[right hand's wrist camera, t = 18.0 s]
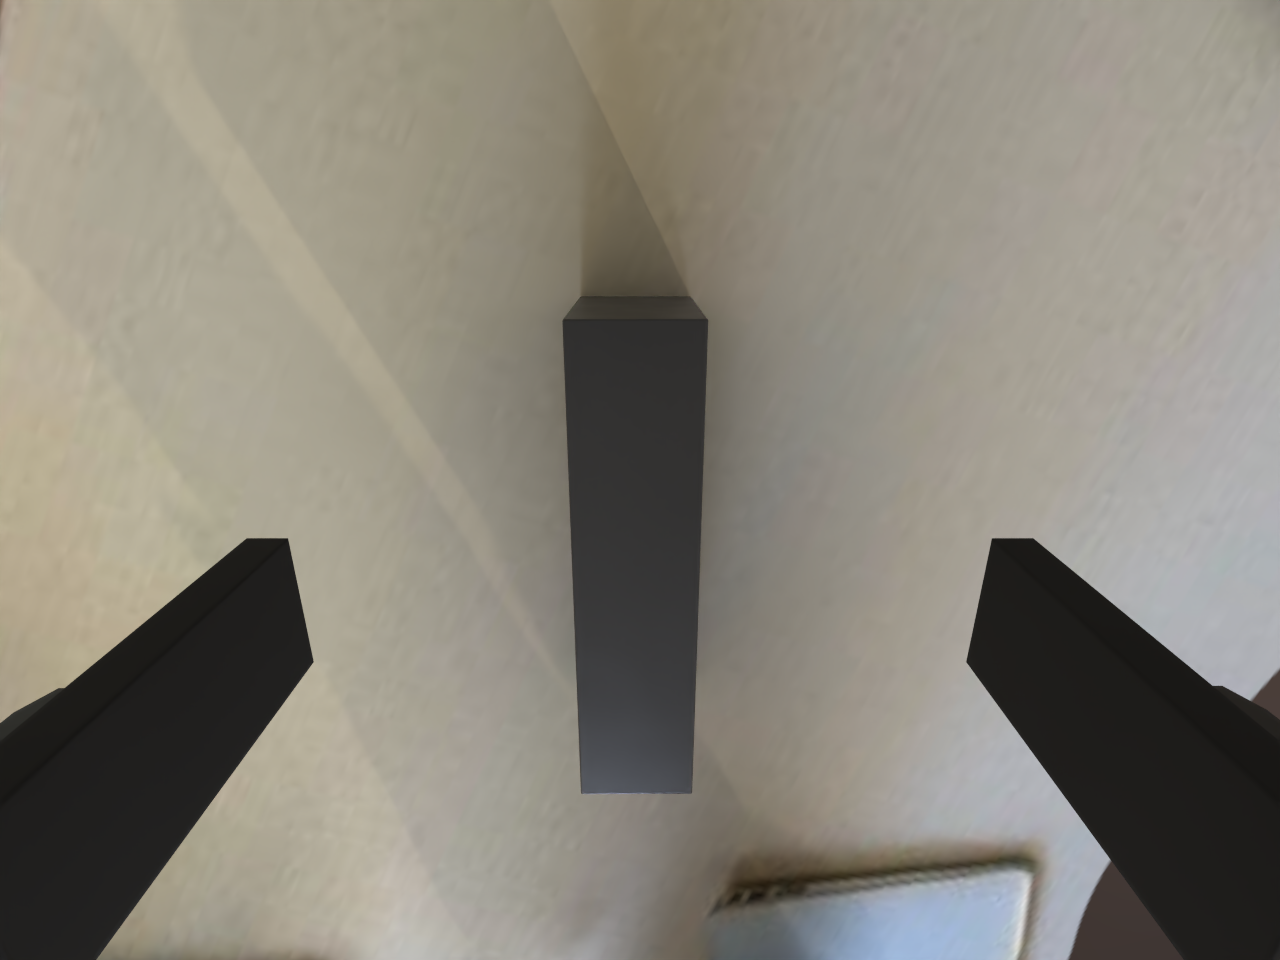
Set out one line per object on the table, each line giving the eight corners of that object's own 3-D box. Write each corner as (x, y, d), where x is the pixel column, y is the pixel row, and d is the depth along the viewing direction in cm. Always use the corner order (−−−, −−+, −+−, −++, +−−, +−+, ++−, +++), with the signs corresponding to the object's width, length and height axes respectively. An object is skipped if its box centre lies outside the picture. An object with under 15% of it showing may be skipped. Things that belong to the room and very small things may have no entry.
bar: (580, 296, 35) (562, 319, 26) (691, 296, 35) (708, 318, 26) (591, 685, 43) (581, 794, 35) (681, 684, 43) (691, 794, 35)
